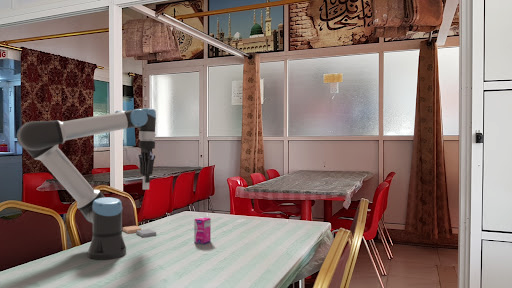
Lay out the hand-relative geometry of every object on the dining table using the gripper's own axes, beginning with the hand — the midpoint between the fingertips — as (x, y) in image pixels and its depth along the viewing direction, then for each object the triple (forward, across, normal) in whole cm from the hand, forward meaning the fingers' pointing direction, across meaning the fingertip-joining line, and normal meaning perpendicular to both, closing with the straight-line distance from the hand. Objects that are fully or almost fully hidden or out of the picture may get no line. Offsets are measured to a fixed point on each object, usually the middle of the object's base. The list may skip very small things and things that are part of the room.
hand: (145, 189), depth 191 cm
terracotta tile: (+24, +19, -4) cm, 31 cm away
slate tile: (+24, +7, -6) cm, 26 cm away
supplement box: (+25, -21, -20) cm, 38 cm away
